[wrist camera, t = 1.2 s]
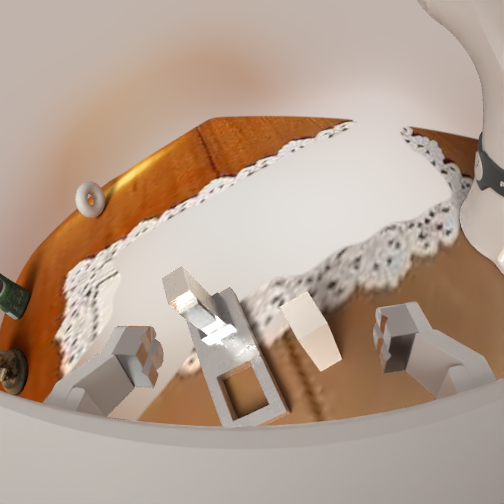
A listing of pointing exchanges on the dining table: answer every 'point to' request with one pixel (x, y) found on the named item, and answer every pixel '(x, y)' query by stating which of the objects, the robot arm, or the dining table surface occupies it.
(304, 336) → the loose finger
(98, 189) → the donut
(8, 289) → the coffee jar
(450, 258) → the dining table surface
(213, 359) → the steel rail
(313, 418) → the dining table surface
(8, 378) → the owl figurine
